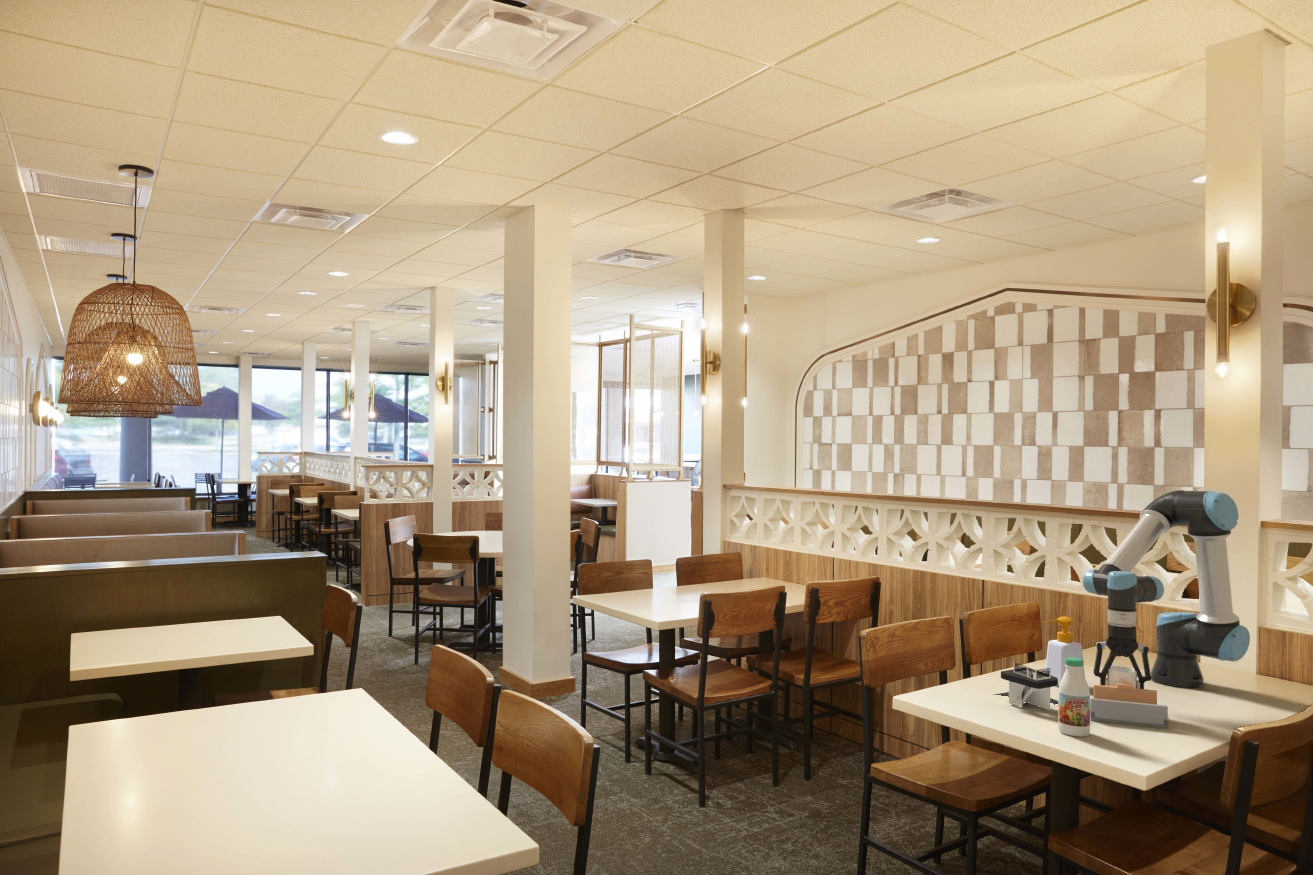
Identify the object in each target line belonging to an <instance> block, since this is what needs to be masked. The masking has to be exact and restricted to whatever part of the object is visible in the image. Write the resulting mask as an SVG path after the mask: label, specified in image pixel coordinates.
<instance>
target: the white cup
mask: <svg viewBox="0 0 1313 875" xmlns="http://www.w3.org/2000/svg"><path fill="white" fill-rule="evenodd" d="M1106 678H1107V679H1108V686H1115V687H1117V686H1116V682H1124V683H1132V684H1133V686H1134V688H1136V686H1137V680H1138V677H1137V671H1136V672H1135V670H1134V668H1133V667H1130V666H1129V667H1128V666H1121V665H1111V667H1110V669H1108V674H1107V676H1106Z"/></svg>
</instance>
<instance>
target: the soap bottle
mask: <svg viewBox="0 0 1313 875" xmlns="http://www.w3.org/2000/svg"><path fill="white" fill-rule="evenodd" d="M1051 622H1057V624H1058V625H1059V626H1061V627H1062V628H1061V629H1062V630H1061V631H1057V632H1056V634H1057V635H1056V639H1051V640H1048V643H1047V649H1046V650H1047V651H1046V658H1045V660H1046V661H1045V668H1044V671H1046V670H1049V669H1046V668H1049V667H1051V676H1054V677H1057V678H1058V686H1057V687H1059V685H1060V682H1061V680H1062V678H1063V676H1064V673H1065V670H1066V666H1065V658H1067V657H1075V658H1080V659H1083V660H1084V655H1083V654H1084V653H1083V645H1082V644H1081V643H1080V642H1077V641H1074V640H1073V636H1074V635H1073V633H1072V632H1069V631H1068V629H1069V628H1068V627H1072V623H1074V622H1075V621H1074V619H1073V618H1071V617H1068V616H1064V615H1063V616H1060V617H1059V616H1058V618H1056V619H1055V618H1054V619H1049V620H1044V621H1042V624H1047V623H1051ZM1083 667H1084V668H1083V674H1084V677H1085V678H1086V674H1085V664H1084V665H1083Z"/></svg>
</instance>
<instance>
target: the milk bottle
mask: <svg viewBox="0 0 1313 875" xmlns="http://www.w3.org/2000/svg"><path fill="white" fill-rule="evenodd" d="M1084 663H1085V661H1084V658H1083V659H1080V658H1075V657H1067V658H1065V666H1066V670H1065V673H1064V676H1063V678H1062V680H1061V682H1060V685H1059V686H1058V700H1057V701H1058V706H1057V707H1058V711H1057V712H1058V716H1057V717H1058V719H1057V720H1058V721H1057V722H1058V723H1057V725H1058V726H1057V727H1058V731H1059V732H1060V733H1062V734H1064V735H1067V736H1072V737H1088V736H1089V735H1090V734H1091V719H1090V700H1091V696H1090V695H1091V694H1090V693H1091V692H1090V687H1089V684H1088V682H1087V680H1086V676H1085V677H1084V674H1083V668H1084V669H1085V664H1084ZM1083 665H1084V667H1083Z"/></svg>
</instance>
